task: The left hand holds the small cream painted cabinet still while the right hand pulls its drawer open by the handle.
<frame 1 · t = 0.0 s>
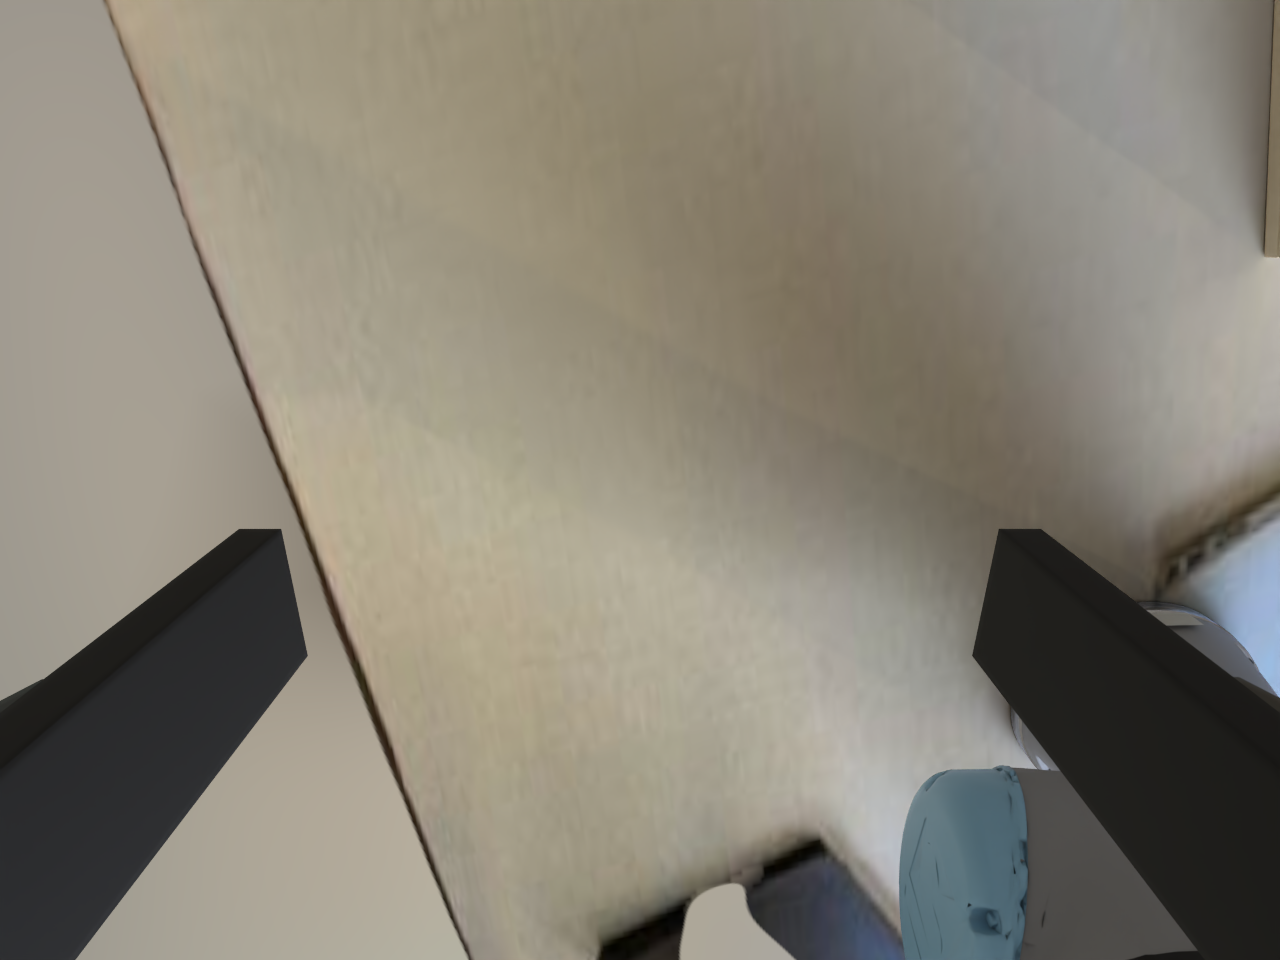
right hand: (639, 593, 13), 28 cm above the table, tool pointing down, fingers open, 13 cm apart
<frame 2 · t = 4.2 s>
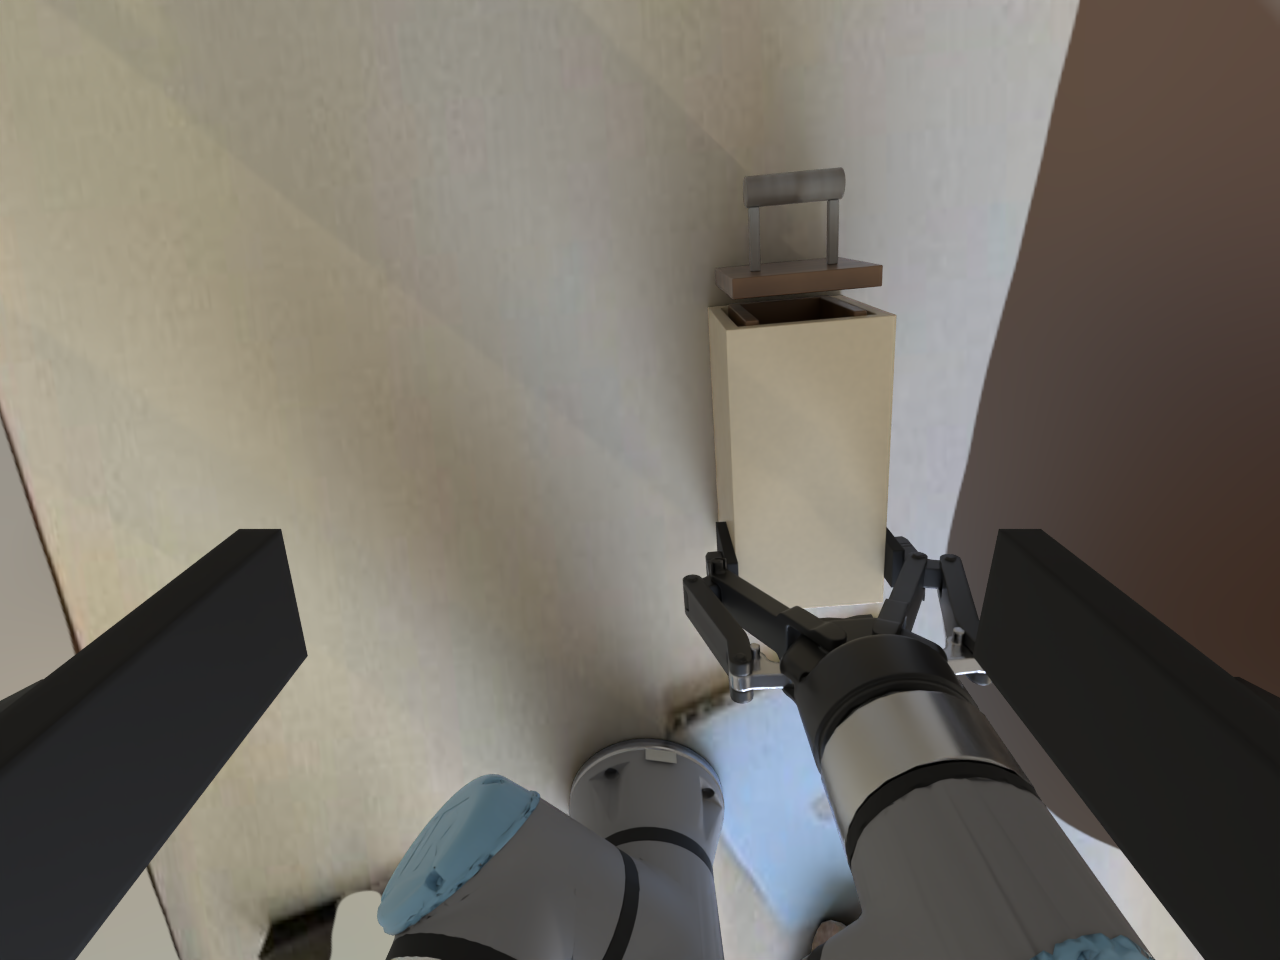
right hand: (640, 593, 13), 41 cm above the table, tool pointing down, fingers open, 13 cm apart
left hand: (793, 532, 50), fingers closed on cabinet, 10 cm apart
cabinet: (776, 426, 54), on the table, touching left hand
drawer: (790, 363, 46), point 6 cm above the table, slide at 1.6 cm
stone: (891, 958, 77), on the table
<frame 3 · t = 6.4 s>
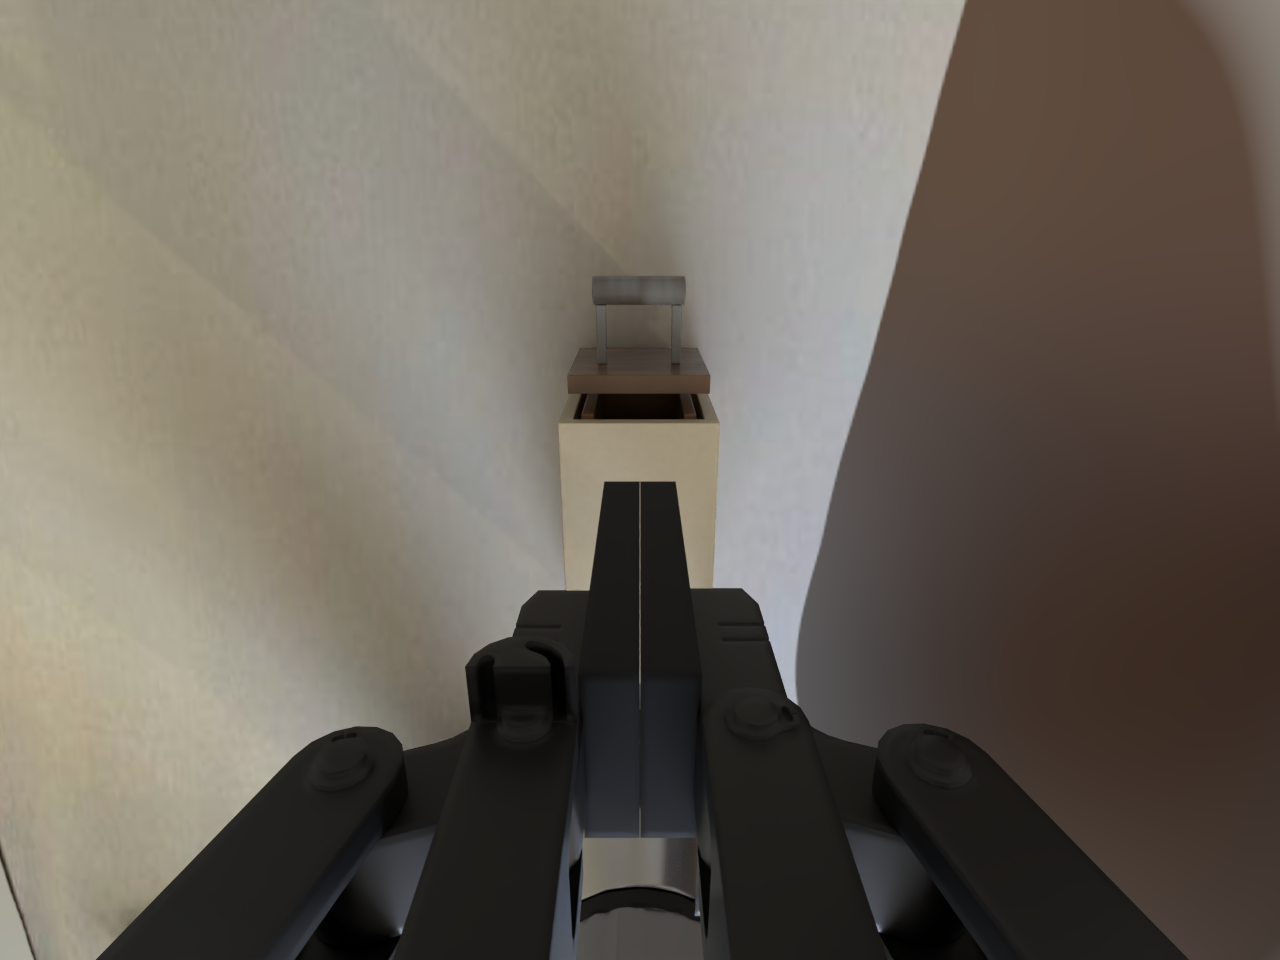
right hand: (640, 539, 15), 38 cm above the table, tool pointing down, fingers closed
cabinet: (639, 498, 56), on the table, touching left hand
drawer: (639, 449, 48), point 6 cm above the table, slide at 1.6 cm
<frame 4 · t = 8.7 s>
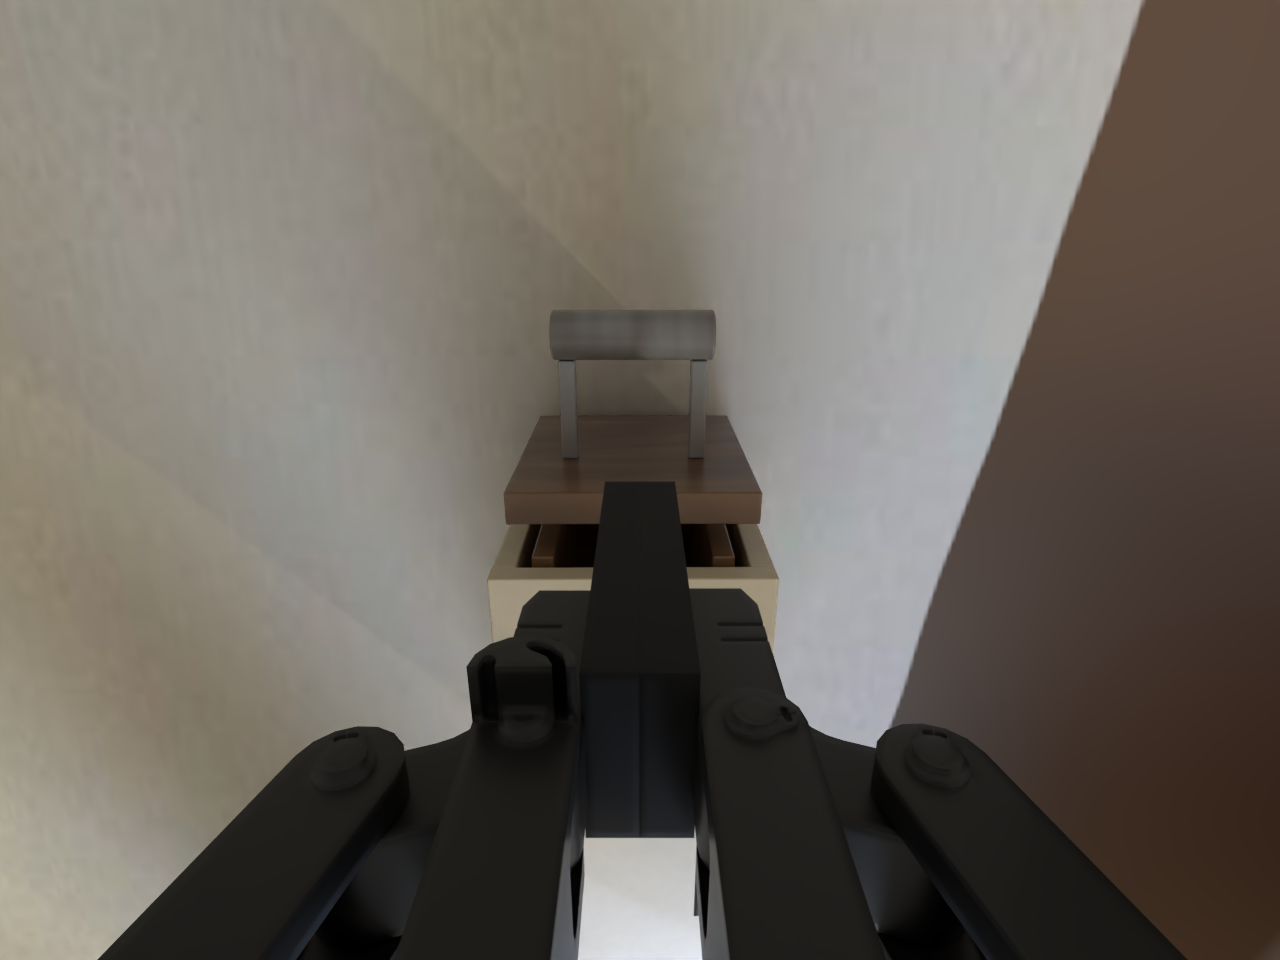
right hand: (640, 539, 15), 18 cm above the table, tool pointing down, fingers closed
cabinet: (634, 630, 37), on the table, touching left hand
drawer: (634, 585, 30), point 6 cm above the table, slide at 1.6 cm
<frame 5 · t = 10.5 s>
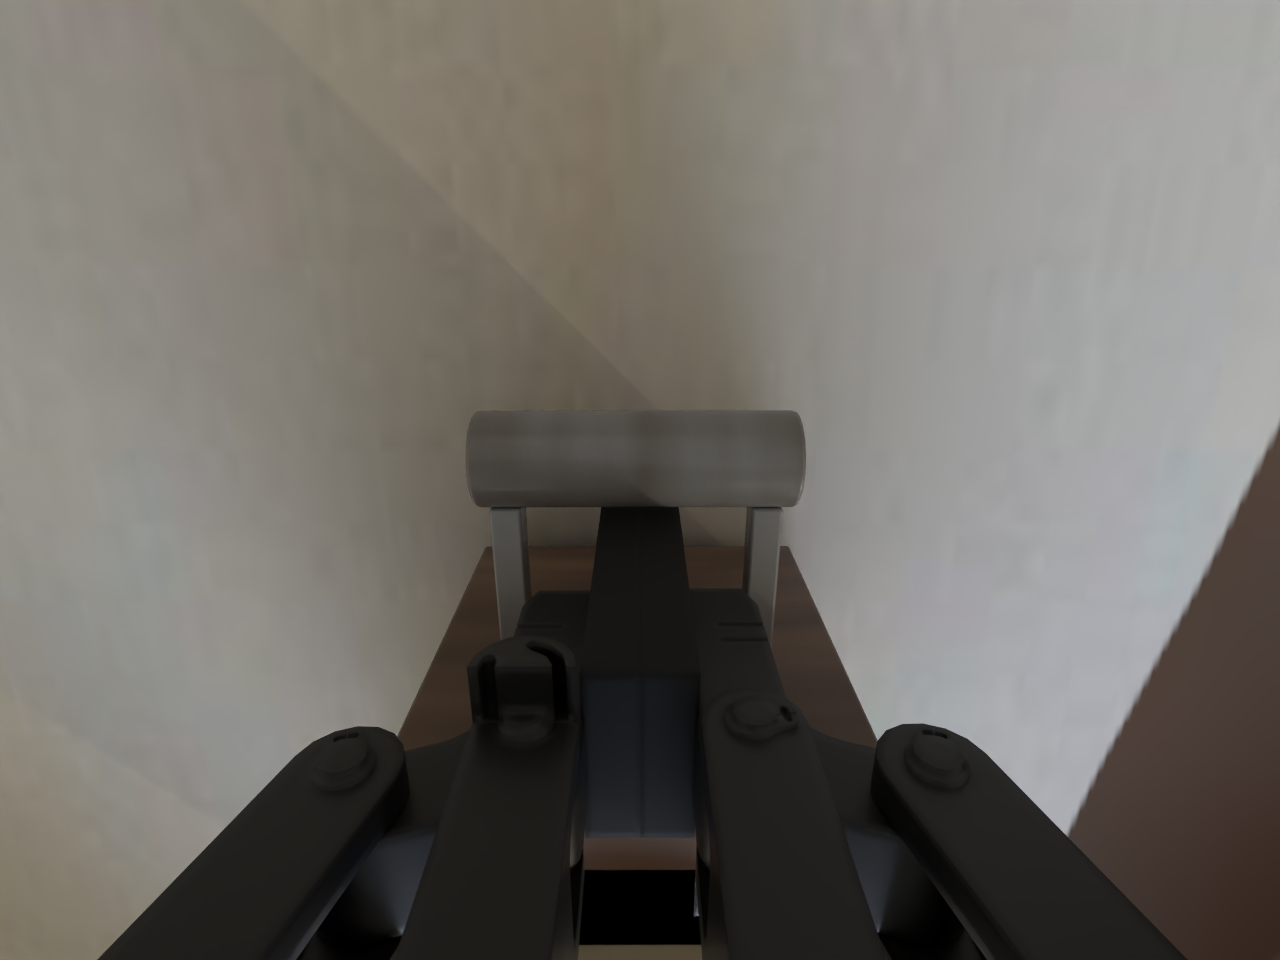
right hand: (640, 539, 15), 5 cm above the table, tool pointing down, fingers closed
cabinet: (637, 839, 25), on the table, touching left hand
drawer: (637, 850, 17), point 6 cm above the table, slide at 1.6 cm, touching right hand
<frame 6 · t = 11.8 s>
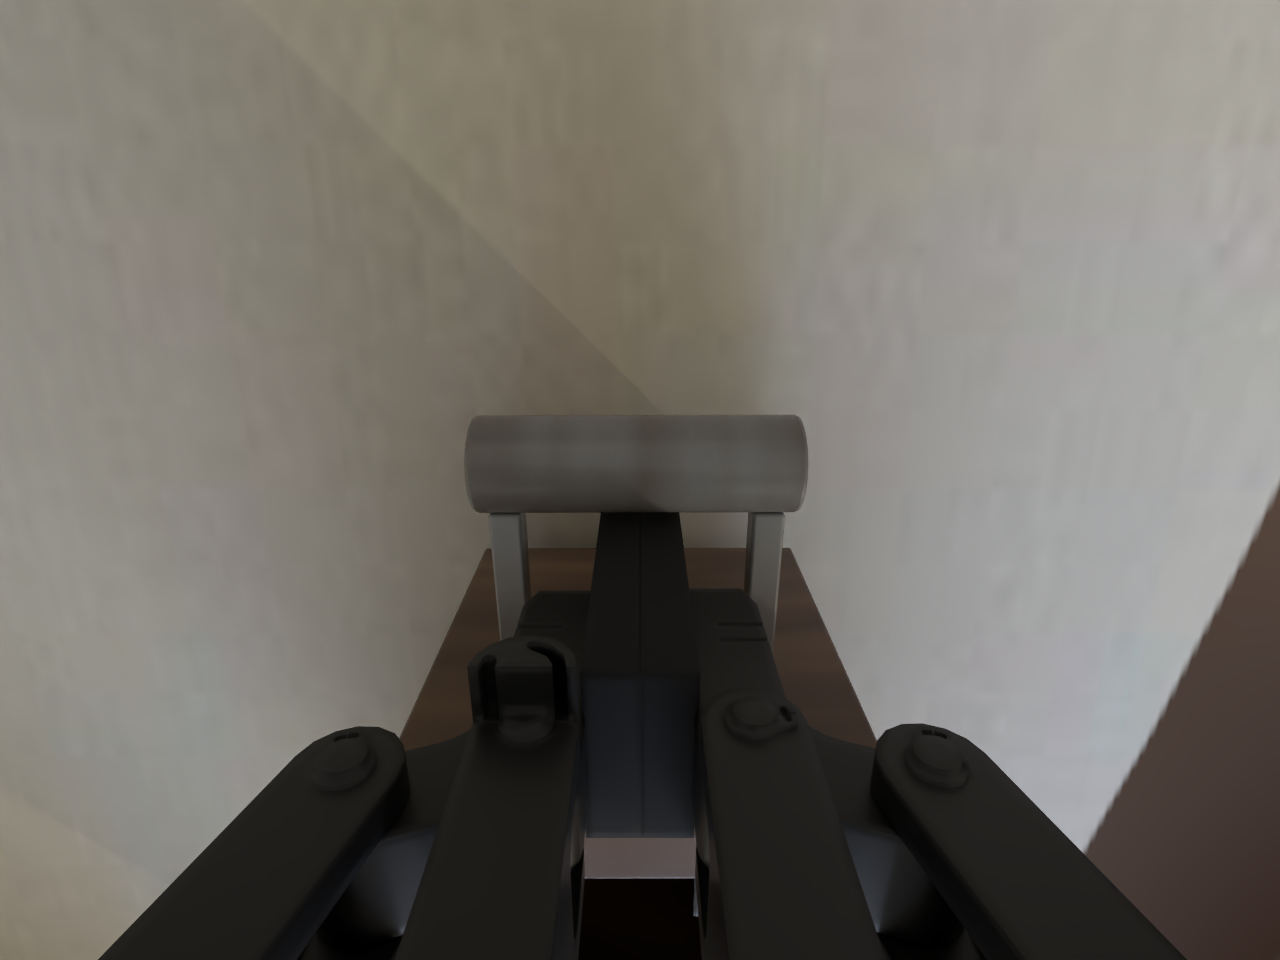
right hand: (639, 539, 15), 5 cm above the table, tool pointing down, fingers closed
drawer: (638, 853, 17), point 6 cm above the table, slide at 7.7 cm, touching right hand
when the left hand's fingers open (6 cm above the table, at t = 13.4 s): cabinet stays where it is, on the table.
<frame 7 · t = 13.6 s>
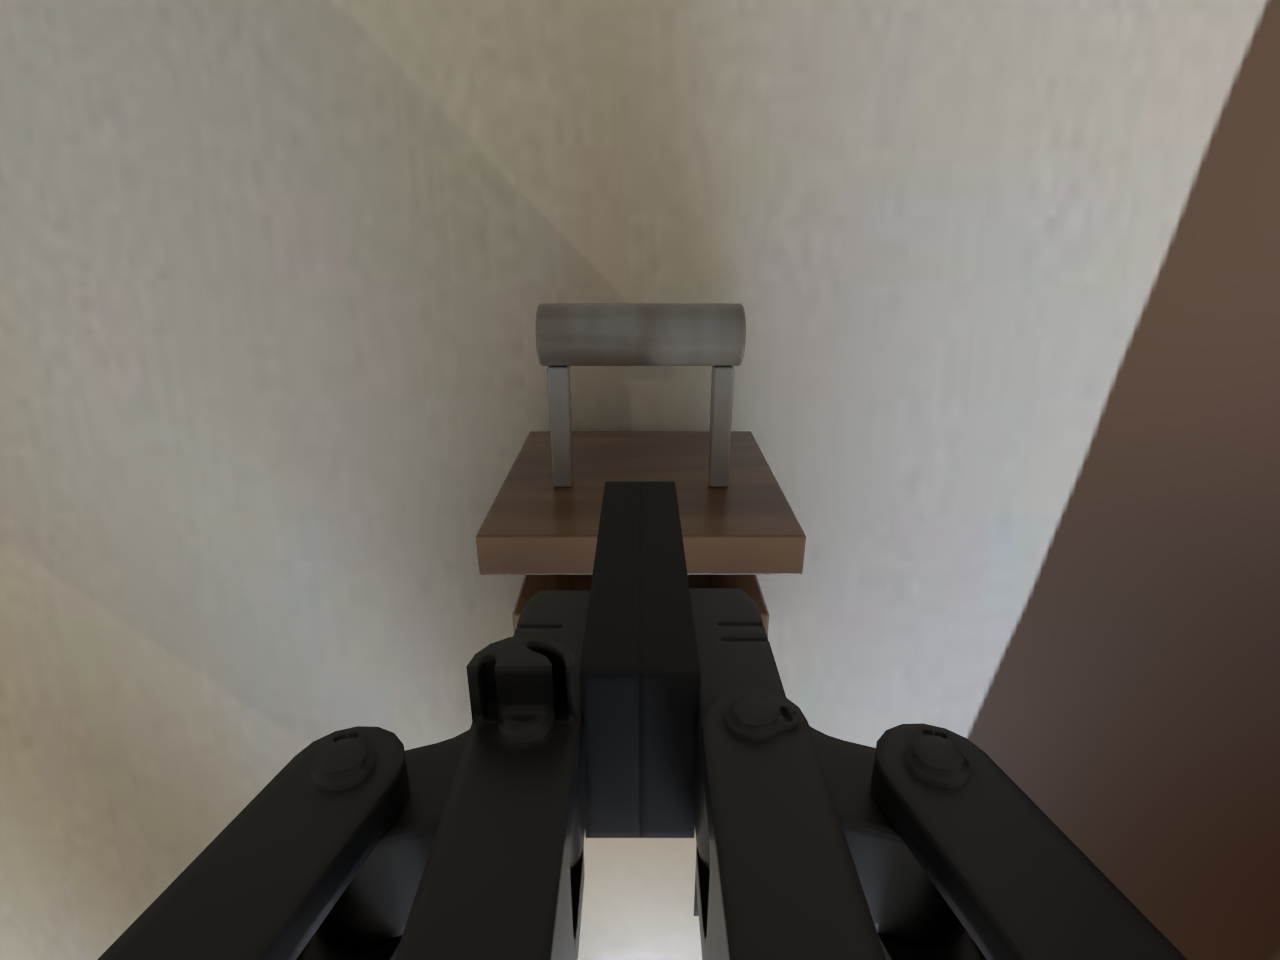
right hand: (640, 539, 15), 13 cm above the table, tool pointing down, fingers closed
cabinet: (640, 778, 34), on the table
drawer: (640, 636, 25), point 6 cm above the table, slide at 7.8 cm
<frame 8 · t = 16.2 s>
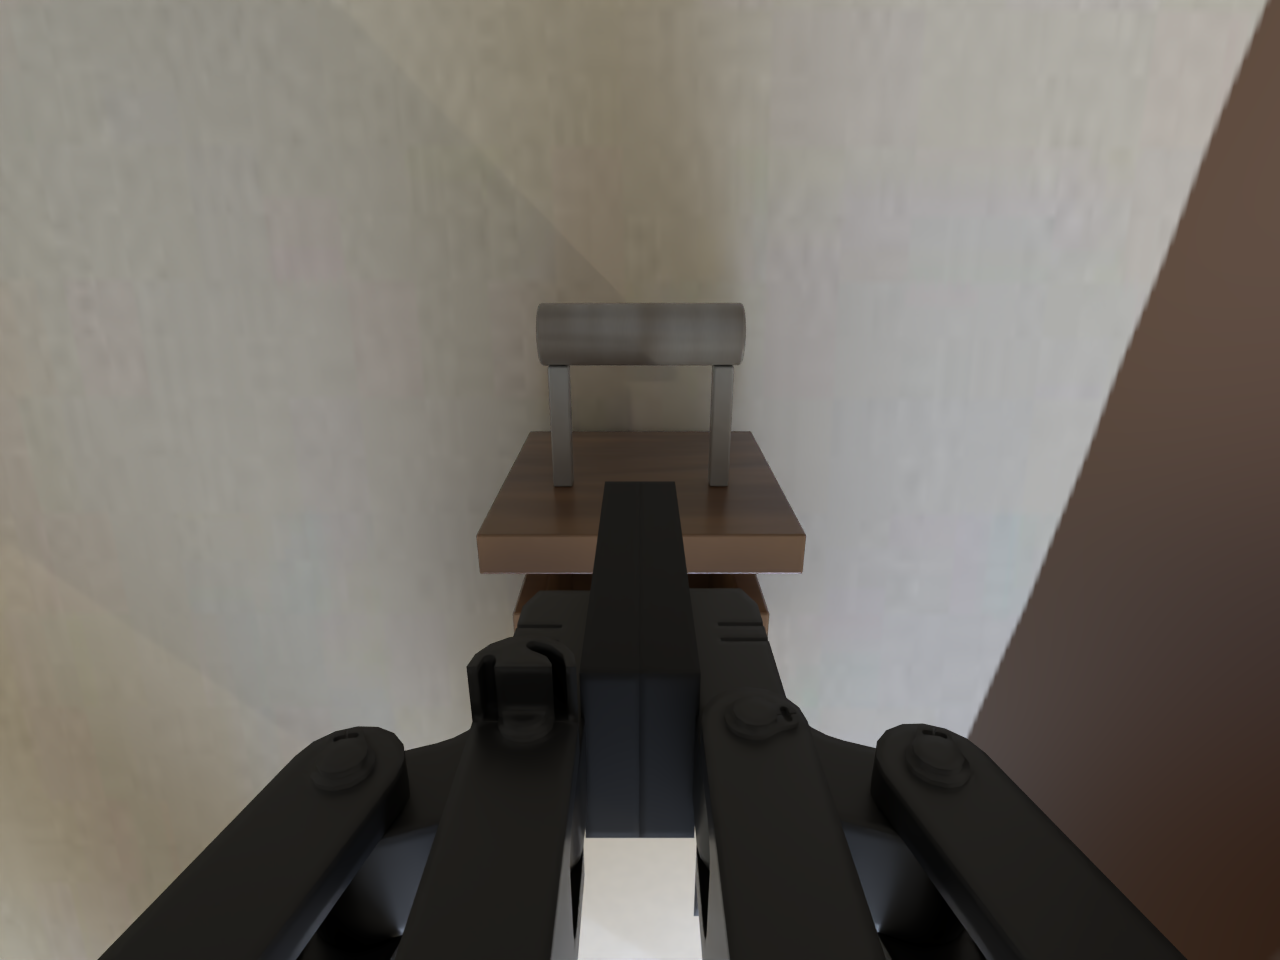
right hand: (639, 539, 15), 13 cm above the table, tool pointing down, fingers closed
cabinet: (640, 778, 34), on the table
drawer: (640, 636, 25), point 6 cm above the table, slide at 7.8 cm
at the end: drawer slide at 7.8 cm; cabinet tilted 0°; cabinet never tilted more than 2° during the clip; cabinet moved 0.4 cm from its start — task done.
